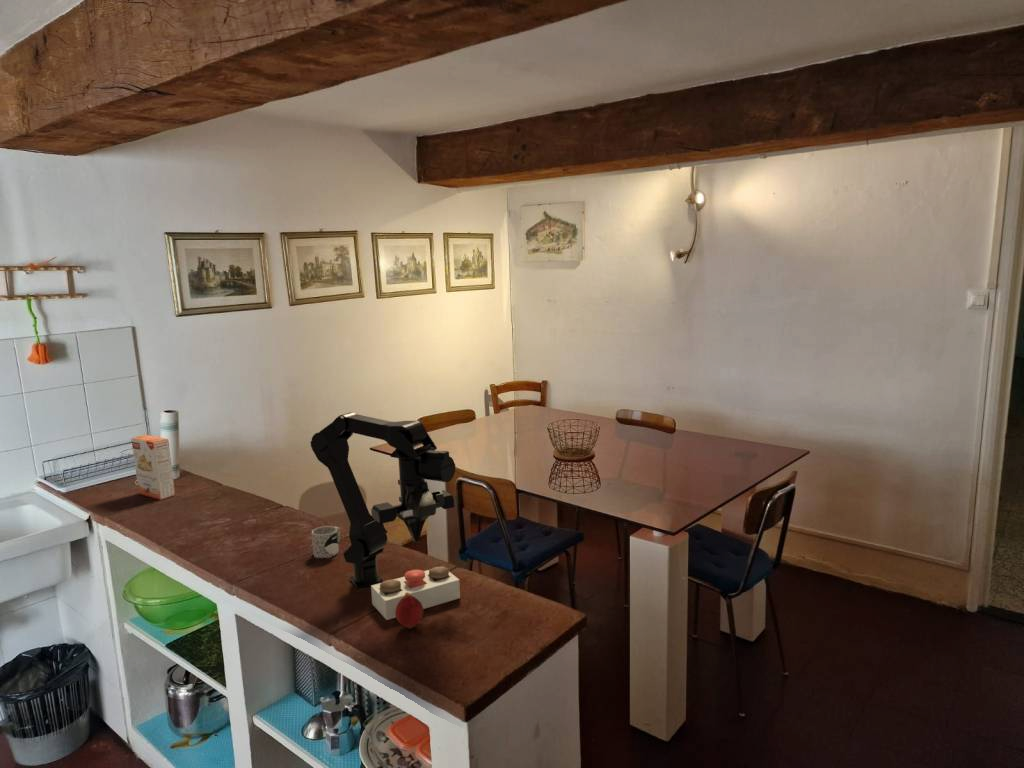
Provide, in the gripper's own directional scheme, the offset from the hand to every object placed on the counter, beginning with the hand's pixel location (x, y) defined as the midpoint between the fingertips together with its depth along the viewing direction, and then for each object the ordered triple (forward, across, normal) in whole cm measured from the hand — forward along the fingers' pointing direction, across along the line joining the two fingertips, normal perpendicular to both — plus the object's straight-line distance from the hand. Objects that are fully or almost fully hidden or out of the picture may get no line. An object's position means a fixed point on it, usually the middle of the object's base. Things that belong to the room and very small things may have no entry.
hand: (416, 541), depth 162 cm
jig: (+13, -2, -3) cm, 13 cm away
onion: (+13, -8, -14) cm, 21 cm away
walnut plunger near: (+13, -8, -3) cm, 15 cm away
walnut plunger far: (+13, +4, -3) cm, 14 cm away
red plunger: (+12, -2, -3) cm, 12 cm away
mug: (+13, -10, +38) cm, 41 cm away
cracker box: (+13, -46, +125) cm, 134 cm away
